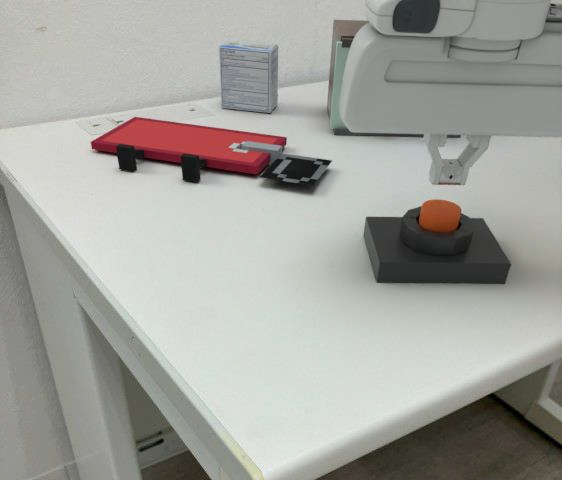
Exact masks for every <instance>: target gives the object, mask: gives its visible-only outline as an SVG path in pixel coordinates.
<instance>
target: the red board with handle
mask: <svg viewBox="0 0 562 480" xmlns="http://www.w3.org/2000/svg"><path fill="white" fill-rule="evenodd" d="M287 141H288V137H287V136H280V135H274V134H267V133H266V134H265V133H258V132H251V131H243V130H236V129H229V128H221V127H214V126H206V125H200V124H199V125H198V124H193V123H192V124H191V123H184V122H176V121H169V120H161V119H154V118H146V117H139V116H134V117H132V118H130V119H128V120H126V121H125V122H123V123H120V124H119V125H118V126H116V127H114V128H112V129H111V130H109V131H107V132H105V133H103V134H102V135H100V136H98V137H96V138H95V139H93V140H91V141H90V145H91V146H90V147H91V150H93V149H95V150H94V151H100V150H101V151H100V152H106V153H114V154H116V156H117V163H118V169H122V170H121V171H123V170H127V171H126V172H130V171H131V172H130V173H134V172H136V171H137V170H138V166H137V159H143V158H146V159H153V160H160V161H166V162H172V163H173V162H174V163H178V164H179V163H180V165H181V177H182V181H185V182H193V183H199V181H201V178H202V177H201V169H202V168H212V169H217V170H224V171H225V170H226V171H232V172H238V173H245V174H251V175H252V174H253V175H258V174H259V173H260V172H261V171H262V170H264V168H265V167H266V166H269V167H267V169H265V170H264V172H263V173H261V175H259V178H261V179H267V180H274V181H279V182H280V181H281V182H287V183H294V184H301V185H306V186H314V185H316V183H317V182H318V180H319V179H320V178H321V176H322V175H323V174H324V172H326V170H327V169H328V167H329V166H330V165H331V163H332V162H333V160H332V159H325V158H319V157H311V156H310V157H309V156H303V155H295V154H288V153H283V149H284V148H285V147H286V146H287V145H288V144H287V143H288V142H287Z"/></svg>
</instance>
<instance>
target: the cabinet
mask: <svg viewBox="0 0 562 480" xmlns="http://www.w3.org/2000/svg"><path fill="white" fill-rule="evenodd" d="M367 23H369V21H368V20H362V19H361V20H356V19H355V20H354V19H333V23H332V36H331V47H330V48H331V49H330V62H329V75H328V88H327V101H326V110H327V114H328V117H329V119H330V118H331V106H332V94H333V82H334V70H335V58H336V45H337V41H340V42H342V46H341V47H342V48H350V47H351V44H352V41H353V39H354V37H355V35H356V34H357V32H358V31H359V30H360V29H361V28H362V27H363V26H364V25H366V24H367ZM332 131H333V135H334V136H365V137H366V136H368V137H369V136H371V137H372V136H373V137H411V138H412V137H413V138H414V137H416V138H417V137H419V138H420V137H421V138H424V134H396V133H355V132H351V131H349V130H348V129H342V128H334V129H332ZM461 136H462V135H447V138H461Z"/></svg>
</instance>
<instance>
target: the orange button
mask: <svg viewBox="0 0 562 480" xmlns="http://www.w3.org/2000/svg"><path fill="white" fill-rule="evenodd" d="M421 206H422V207H421ZM421 206H420V207H421V212H420V217H419V225H420V226H422V227H423V228H425V229H428V230H432V231H436V232H452V231H456V230H457V227H458V223H459V219H460V215H461V213H462V208H461V206H459V205H458V204H457V203H455V202H452V201H449V200H445V199H437V198H436V199H429V200H425V201H424V202H423V203H422V204H421Z"/></svg>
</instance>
